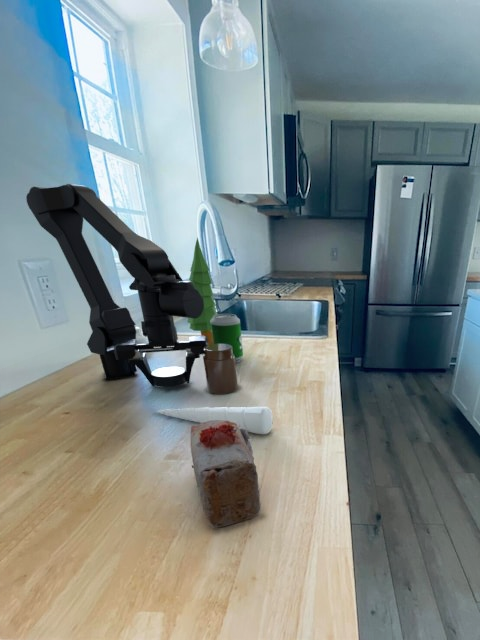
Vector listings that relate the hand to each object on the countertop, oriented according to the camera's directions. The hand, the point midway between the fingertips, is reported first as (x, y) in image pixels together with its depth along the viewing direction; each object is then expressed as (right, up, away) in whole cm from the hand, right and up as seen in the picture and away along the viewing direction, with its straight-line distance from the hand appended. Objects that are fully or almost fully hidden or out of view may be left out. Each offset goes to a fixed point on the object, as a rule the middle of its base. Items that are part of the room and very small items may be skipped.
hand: (171, 384), depth 83 cm
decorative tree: (-2, +17, +32) cm, 36 cm away
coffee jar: (+12, -1, -1) cm, 12 cm away
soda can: (+9, +9, +17) cm, 21 cm away
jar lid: (0, +2, -1) cm, 3 cm away
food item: (+22, -19, -34) cm, 45 cm away
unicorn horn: (+15, -10, -17) cm, 24 cm away
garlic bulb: (-20, +13, +25) cm, 34 cm away
